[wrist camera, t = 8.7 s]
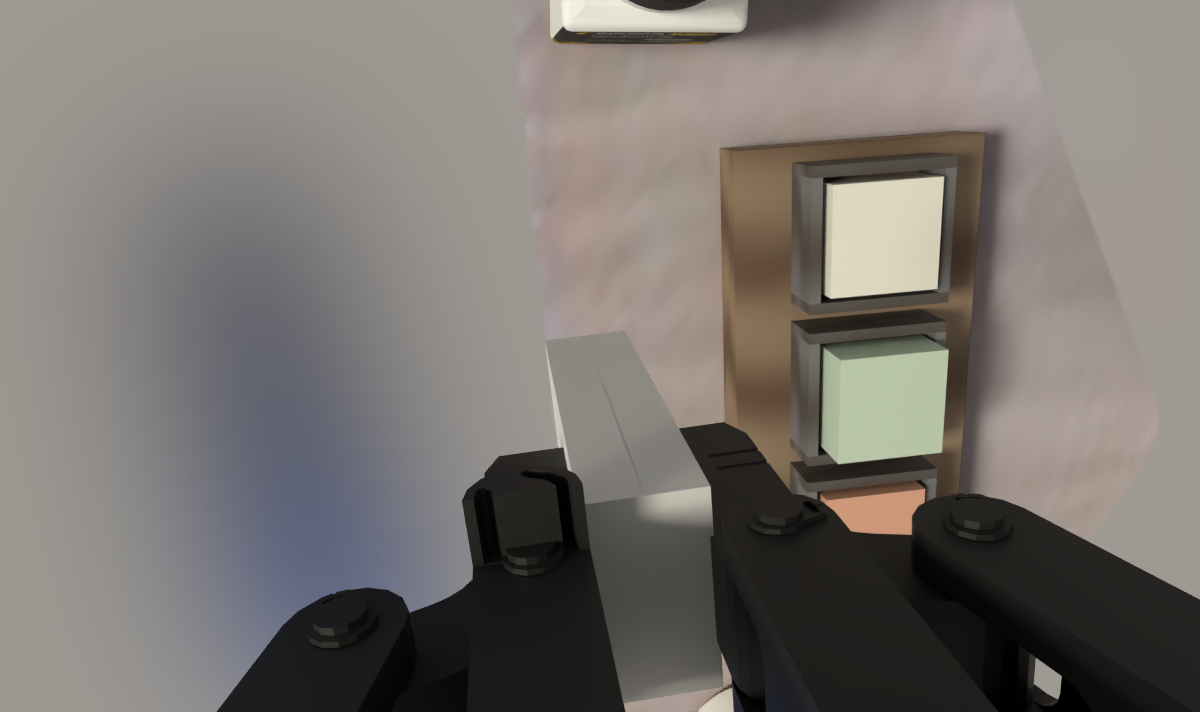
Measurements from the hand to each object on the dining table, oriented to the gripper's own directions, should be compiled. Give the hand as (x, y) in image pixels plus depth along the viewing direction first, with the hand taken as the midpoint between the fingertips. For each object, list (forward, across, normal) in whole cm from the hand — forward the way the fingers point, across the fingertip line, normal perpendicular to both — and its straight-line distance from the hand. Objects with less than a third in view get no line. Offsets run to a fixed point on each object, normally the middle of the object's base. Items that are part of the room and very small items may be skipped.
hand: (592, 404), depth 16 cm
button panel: (+25, +15, -9) cm, 31 cm away
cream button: (+22, +15, -2) cm, 27 cm away
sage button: (+21, +15, -9) cm, 27 cm away
